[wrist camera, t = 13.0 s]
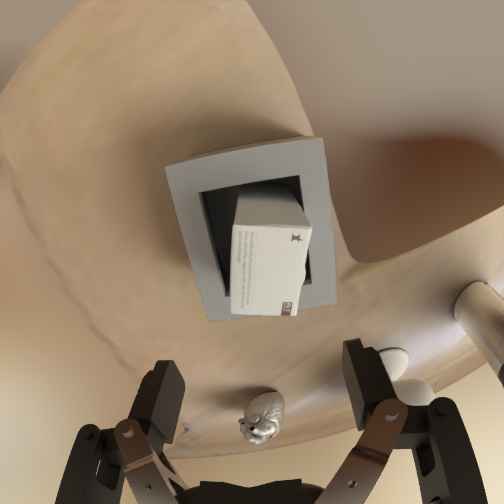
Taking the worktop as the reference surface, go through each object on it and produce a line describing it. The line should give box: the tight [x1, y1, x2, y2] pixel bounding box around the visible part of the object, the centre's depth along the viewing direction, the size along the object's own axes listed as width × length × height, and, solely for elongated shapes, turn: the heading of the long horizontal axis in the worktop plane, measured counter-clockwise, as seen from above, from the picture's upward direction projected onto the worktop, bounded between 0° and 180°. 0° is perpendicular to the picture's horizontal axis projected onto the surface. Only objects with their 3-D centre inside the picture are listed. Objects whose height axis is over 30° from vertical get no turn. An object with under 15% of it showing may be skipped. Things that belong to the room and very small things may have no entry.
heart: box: [238, 392, 285, 445], centre depth 46 cm, size 10×10×12 cm
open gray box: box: [164, 136, 337, 322], centre depth 30 cm, size 14×17×10 cm
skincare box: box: [230, 181, 312, 316], centre depth 27 cm, size 8×6×15 cm
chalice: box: [379, 349, 435, 406], centre depth 40 cm, size 14×14×15 cm
